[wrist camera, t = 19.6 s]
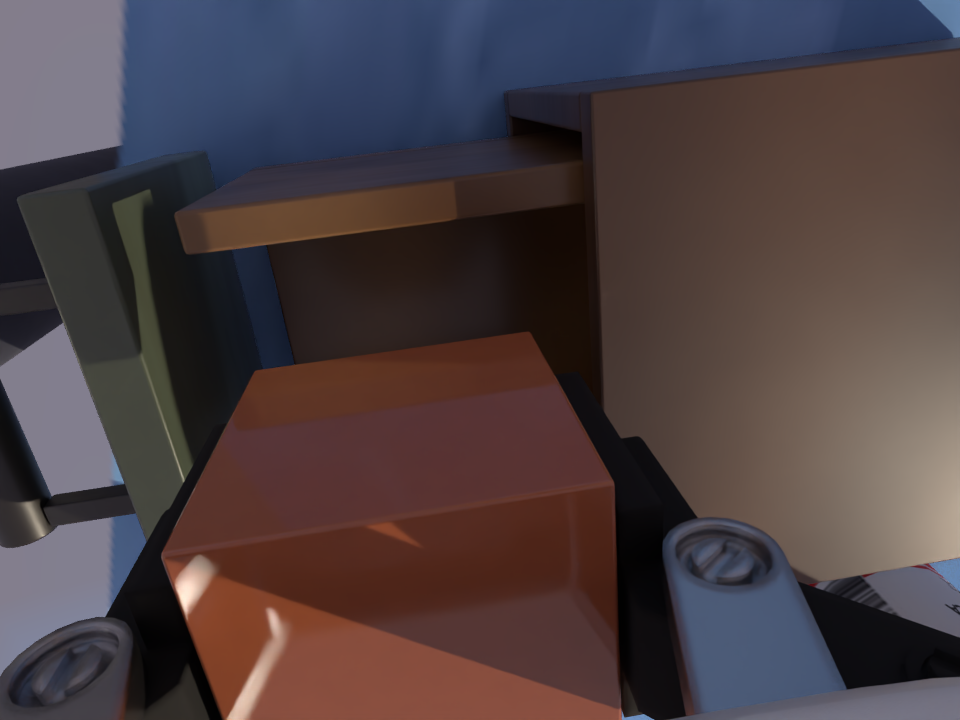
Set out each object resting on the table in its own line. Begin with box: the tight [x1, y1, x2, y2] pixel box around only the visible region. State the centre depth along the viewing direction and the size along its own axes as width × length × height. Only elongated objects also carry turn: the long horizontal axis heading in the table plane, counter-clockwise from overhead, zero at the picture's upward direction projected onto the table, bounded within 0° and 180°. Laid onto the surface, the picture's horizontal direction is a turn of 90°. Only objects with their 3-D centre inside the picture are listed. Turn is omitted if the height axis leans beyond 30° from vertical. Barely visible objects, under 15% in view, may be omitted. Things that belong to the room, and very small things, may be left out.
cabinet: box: [504, 37, 960, 585], centre depth 18 cm, size 14×11×9 cm
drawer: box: [0, 129, 593, 548], centre depth 17 cm, size 18×10×8 cm, turn 97°
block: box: [161, 332, 622, 720], centre depth 9 cm, size 4×4×4 cm
